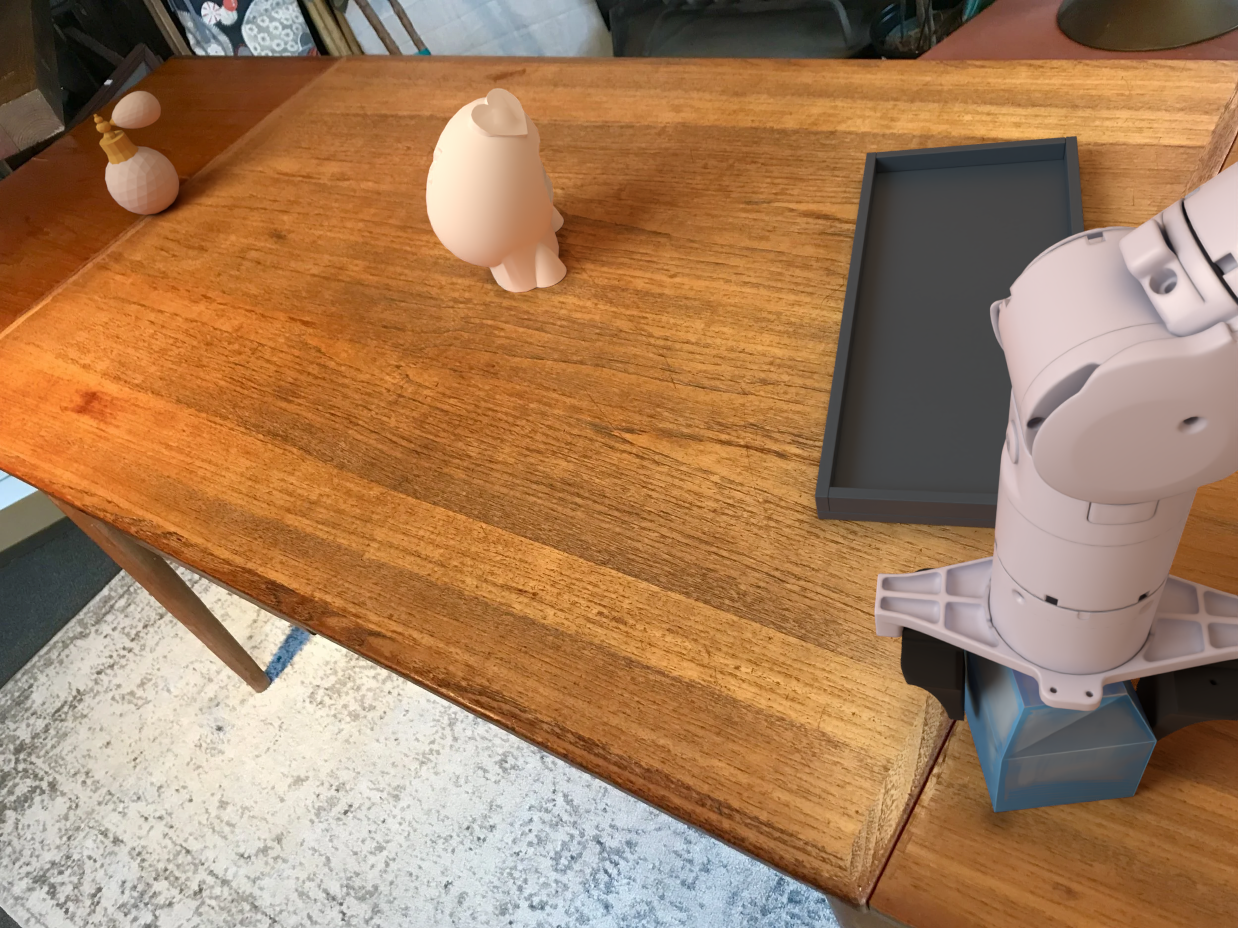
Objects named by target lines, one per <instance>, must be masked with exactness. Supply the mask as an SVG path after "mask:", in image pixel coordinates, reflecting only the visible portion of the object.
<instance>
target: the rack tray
mask: <svg viewBox="0 0 1238 928" xmlns="http://www.w3.org/2000/svg"><path fill="white" fill-rule="evenodd" d="M1081 182H1082V181H1081V172H1080V159H1079V146H1078V136H1077V135H1072V136H1071V135H1070V136H1059V137H1047V138H1036V139H1024V140H1023V139H1022V140H1011V141H1010V140H1009V141H997V142H987V143H971V144H961V145H959V144H958V145H947V146H936V147H934V146H933V147H923V148H922V147H921V148H910V149H898V150H886V151H885V150H884V151H877V152H876V151H873V152H872V151H871V152H866V155H865V162H864V167H863V174H862V181H861V187H860V194H859V201H858V208H857V214H856V221H855V227H854V234H853V241H852V247H851V254H850V261H849V266H848V268H849V269H848V273H847V281H846V286H845V293H844V301H843V307H842V313H841V321H840V325H839V326H840V327H839V334H838V341H837V346H836V354H835V360H834V365H833V366H834V368H833V373H832V380H831V387H830V393H829V400H828V406H827V413H826V419H825V424H824V425H825V426H824V431H823V432H824V433H823V440H822V446H821V453H820V459H819V466H818V471H817V472H818V473H817V478H816V486H815V491H814V501H815V507H816V513H817V519H819V520H834V521H835V520H837V521H852V522H853V521H854V522H874V523H890V524H891V523H893V524H911V525H928V526H929V525H932V526H949V527H951V526H952V527H966V528H967V527H970V528H971V527H972V528H990V529H995V525H996V513H997V501H998V489H999V478H1000V466H1001V456H1002V450H1003V446H1004V443H1005V440H1006V431H1007V427H1008V422H1009V411H1010V400H1011V389H1012V383H1011V379H1010V375H1009V370H1008V366H1007V362H1006V358H1005V353H1004V350H1003V349H1002V347H1001V346H1000V344H999V342H998V340H997V338H996V335H995V333H994V329H993V326H992V321H991V315H990V308H991V305H992V304H993V303H994V302H996V301H999V300H1003V299H1006V298H1008V297H1010V296H1011V292H1010V287H1011V286H1012V285H1013V283H1014V282H1015V281H1016V279H1017V278H1018V277H1019V276H1020V275H1021V274H1022V273H1023V271H1024V270H1025V269H1026V267H1027V266H1028V265H1029V264H1030V263H1031V262H1032V261H1033V260H1034V259H1035V258H1036V257H1037V256H1039V255H1040V254H1041V253H1042V252H1044V251H1045V250H1046V249H1048V248H1049V247H1051V246H1053V245H1054V244H1056V243H1058V242H1060V241H1062V240H1064V239H1066V238H1068V237H1070V236H1073V235H1075V234H1078V233H1081V232H1084V231H1085V221H1084V210H1083V208H1084V207H1083V197H1082V183H1081Z"/></svg>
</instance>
